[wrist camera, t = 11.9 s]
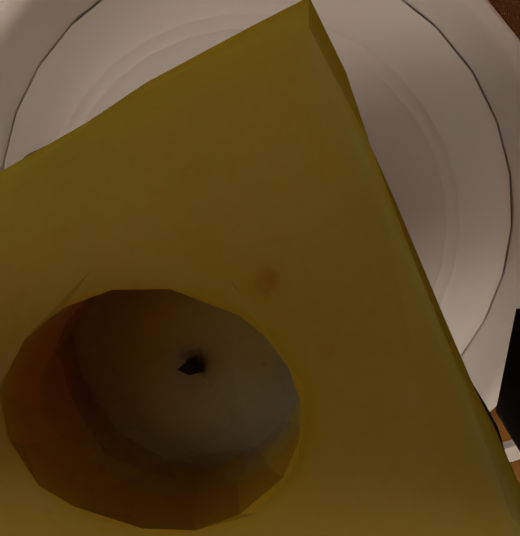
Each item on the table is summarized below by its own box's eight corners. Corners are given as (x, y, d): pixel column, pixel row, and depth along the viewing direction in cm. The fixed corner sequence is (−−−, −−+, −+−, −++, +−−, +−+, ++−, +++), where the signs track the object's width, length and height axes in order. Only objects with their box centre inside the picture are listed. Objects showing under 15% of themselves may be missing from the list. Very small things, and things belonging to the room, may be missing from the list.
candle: (433, 325, 18) (579, 574, 8) (189, 417, 20) (88, 700, 11) (318, 48, 15) (343, -37, 6) (52, 187, 17) (-243, 289, 8)
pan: (80, -264, 17) (15, -371, 13) (724, 147, 19) (828, 158, 15) (-106, 314, 24) (-181, 353, 21) (367, 556, 27) (378, 630, 23)
